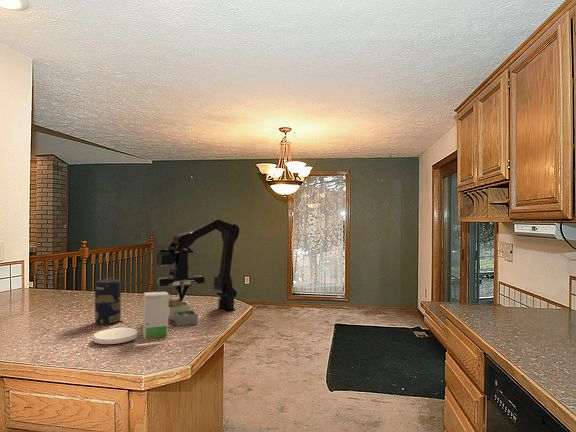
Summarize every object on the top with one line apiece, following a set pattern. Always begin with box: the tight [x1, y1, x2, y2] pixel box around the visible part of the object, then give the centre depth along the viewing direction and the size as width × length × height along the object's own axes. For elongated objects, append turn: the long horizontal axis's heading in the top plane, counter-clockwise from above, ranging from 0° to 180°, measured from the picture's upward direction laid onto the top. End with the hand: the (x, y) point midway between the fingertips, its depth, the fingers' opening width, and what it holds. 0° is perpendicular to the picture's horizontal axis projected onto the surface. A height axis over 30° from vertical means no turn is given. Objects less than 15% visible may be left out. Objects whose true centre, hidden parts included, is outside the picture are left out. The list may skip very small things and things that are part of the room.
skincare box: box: [142, 291, 170, 340], centre depth 143 cm, size 8×7×16 cm
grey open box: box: [174, 309, 199, 327], centre depth 159 cm, size 8×8×4 cm
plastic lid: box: [93, 327, 138, 345], centre depth 139 cm, size 14×14×2 cm
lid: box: [169, 296, 182, 307], centre depth 167 cm, size 9×9×2 cm
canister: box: [94, 277, 122, 325], centre depth 162 cm, size 10×10×18 cm
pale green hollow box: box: [168, 300, 191, 321], centre depth 169 cm, size 8×8×6 cm
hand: (181, 300), depth 169 cm, fingers closed
